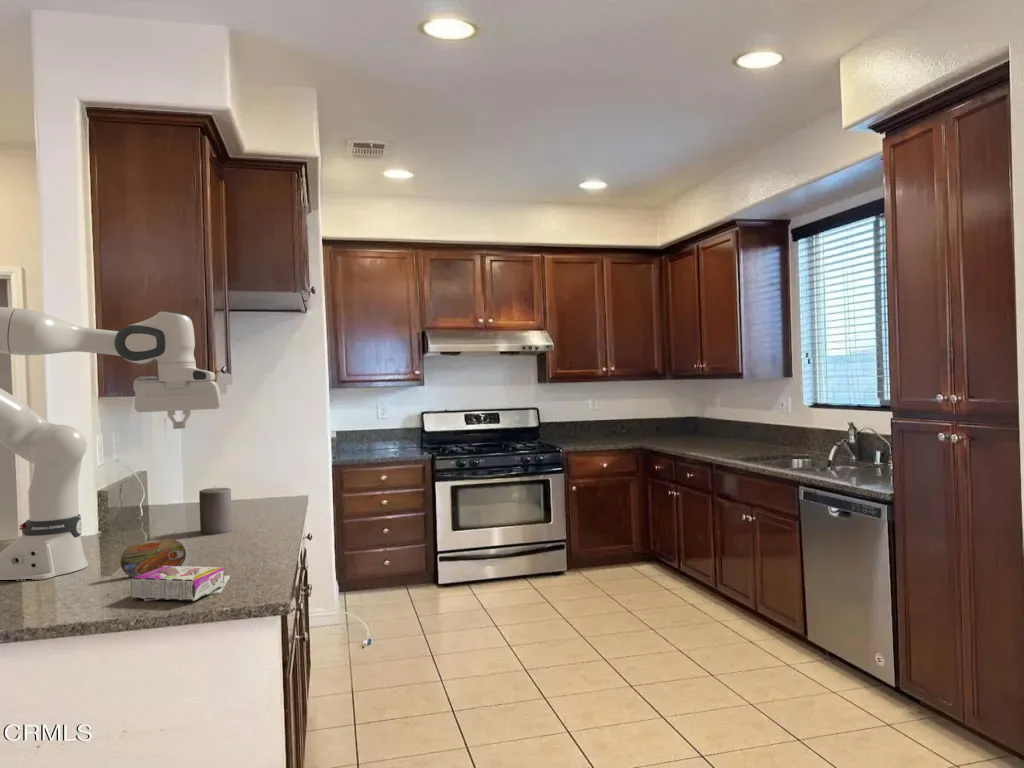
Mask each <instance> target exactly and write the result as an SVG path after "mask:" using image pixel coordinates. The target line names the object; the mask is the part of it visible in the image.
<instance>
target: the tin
mask: <svg viewBox="0 0 1024 768" xmlns="http://www.w3.org/2000/svg"><path fill="white" fill-rule="evenodd" d="M186 556H187V551H186V547H185V546H184V545H183V543H181V542H180V541H178V540H176V539H172V538H166V539H160V540H154V541H147V542H141V543H135V544H132V545H131V546H128V547H127V548H126V549H125V550H124V551H123V553H122V554H121V557H120V567H121V570H122V571H123V573H124V574H125V575H126V576H128V577H131V578H134V577H136V576H139V575H142V574H144V573H147V572H149V571H152V570H155V569H157V568H160V567H162V566H183V564H184V563H185V560H186Z"/></svg>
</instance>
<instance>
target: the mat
mask: <svg viewBox="0 0 1024 768" xmlns="http://www.w3.org/2000/svg"><path fill="white" fill-rule="evenodd" d="M230 577H231V575H229V574H228V575H224V587H222V588H220V589H218V590H216V591H214V592H212V593H210V594H208V595H217V594H218V595H219V594H221V593H222V591H223V590H224V588H225V586H226V585H227V583H228V580H229V579H230ZM158 600H159V601H161V599H143V602H147V601H158Z"/></svg>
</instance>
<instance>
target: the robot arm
mask: <svg viewBox="0 0 1024 768" xmlns="http://www.w3.org/2000/svg"><path fill="white" fill-rule="evenodd" d="M195 337H196V336H195V329H194V324H193V321H192V319H191V318H190V317H189V316H188V315H186V314H184V313H181V312H177V311H170V310H162V311H161V310H160V311H159V312H158V313H156V314H155V315H153V316H152V317H148V318H147V319H145V320H142V321H140V322H137V323H133V324H129V325H126V326H125V327H124V326H123V328H121V329H119V331H117V330H108V329H100V328H99V329H98V328H91V327H85V326H84V327H83V326H80V325H77V324H72V323H70V322H67V321H64V320H62V319H60V318H58V317H56V316H53V315H50V314H47V313H44V312H39V311H37V310H36V311H35V310H31V309H25V308H20V307H19V308H16V307H7V306H5V307H4V306H0V354H4V355H5V354H8V355H16V356H43V355H52V354H53V355H54V354H60V353H61V354H62V353H75V352H77V353H78V352H79V353H91V354H100V355H109V356H110V355H112V356H116V357H120V358H122V359H123V360H126V361H128V362H130V363H131V364H132V363H133V364H135V365H137V366H138V365H140V366H146V365H151V364H153V363H155V362H156V361H157V375H147V376H146V375H140V376H139V377H137V378H136V379H134V381H133V392H134V393H135V394H134V409H135V411H136V412H137V413H155V412H157V413H158V412H167V417H168V418H169V420H170V421H171V423H172V428H173V430H176V429H187V426H188V425H187V421H188V419H189V418H190V416H191V413H192V412H191V411H195V410H196V411H197V410H198V411H199V410H216V409H217V410H218V409H219V408H220V407H221V406H222V396H221V391H220V390H221V389H220V386H219V385H218V383H217V382H216V381H214V380H216V374H215V372H213V371H209V370H207V369H206V370H205V369H204V368H198V367H197V364H196V358H195V354H194V352H195V347H196V338H195ZM176 411H182V414H183V415H184V417H183V419H182V421H178V420H177V419H176V418H175V415H176ZM0 444H1V445H2V446H4V447H5V448H6V449H8V450H10V451H11V452H13V453H14V454H16V455H18V456H19V457H21V458H22V459H24V460H25V461H27V462H29V463H30V464H33V465H34V467H33V472H32V473H33V474H32V478H31V483H30V486H29V487H28V493H27V494H28V515H29V516H28V517H29V519H27V520H25V521H24V522H23V523H22V524H20V525H19V526H18V527H19V529H18V530H19V531H20V530H21V533H22V534H21V535H19V537H17V538H16V539H15V540H14V541H13V542H12V543H10V544H9V545H7V546H6V547H5V548H4V549H3V550H2V551H0V580H8V579H9V580H10V579H21V580H20V581H26V580H25V579H32V580H31V581H33V579H34V580H36V581H37V580H45V579H49V578H53V577H56V576H61V575H66V574H70V573H73V572H77V571H80V570H82V569H85V568H86V567H88V566H89V563H88V561H87V559H86V555H85V551H84V549H83V543H82V537H81V535H82V531H83V530H82V529H83V527H82V526H83V525H82V517H81V514H80V513H79V492H78V491H79V490H78V489H79V486H78V485H79V479H80V478H79V477H80V472H81V468H82V467H81V466H82V461H83V457H84V455H86V453H87V447H88V443H87V439H86V437H85V435H83V433H82V432H80V430H77V429H76V428H74V427H73V426H70V425H66V424H55V423H52V422H49V421H48V420H47V419H44V418H43V417H42V416H40V415H39V414H38V413H37V412H36V411H34V410H33V409H32V408H30V407H29V405H28V404H26V403H25V402H24V401H22V400H21V399H20V398H17V397H16V396H14V395H13V394H11V393H9V392H8V391H6V390H5V389H3V388H1V387H0ZM23 579H24V580H23Z"/></svg>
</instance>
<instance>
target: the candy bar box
mask: <svg viewBox="0 0 1024 768" xmlns="http://www.w3.org/2000/svg"><path fill="white" fill-rule="evenodd" d="M224 574H225V567H224V566H189V565H188V566H187V565H181V566H162V567H160V568H157V569H155V570H152V571H149V572H147V573H144V574H142V575H139V576H136V577H131V580H130V586H131V599H137V600H138V599H140V600H144V599H160V600H163V601H166V600H167V601H168V600H169V601H192V602H194V601H196V600H199V599H201V598H203V597H206V596H207V595H208V594H210V593H212V592H214V591H216V590H218V589H220V588H222V587H224V588H225V586H224V576H225V575H224ZM210 595H211V594H210Z"/></svg>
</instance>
